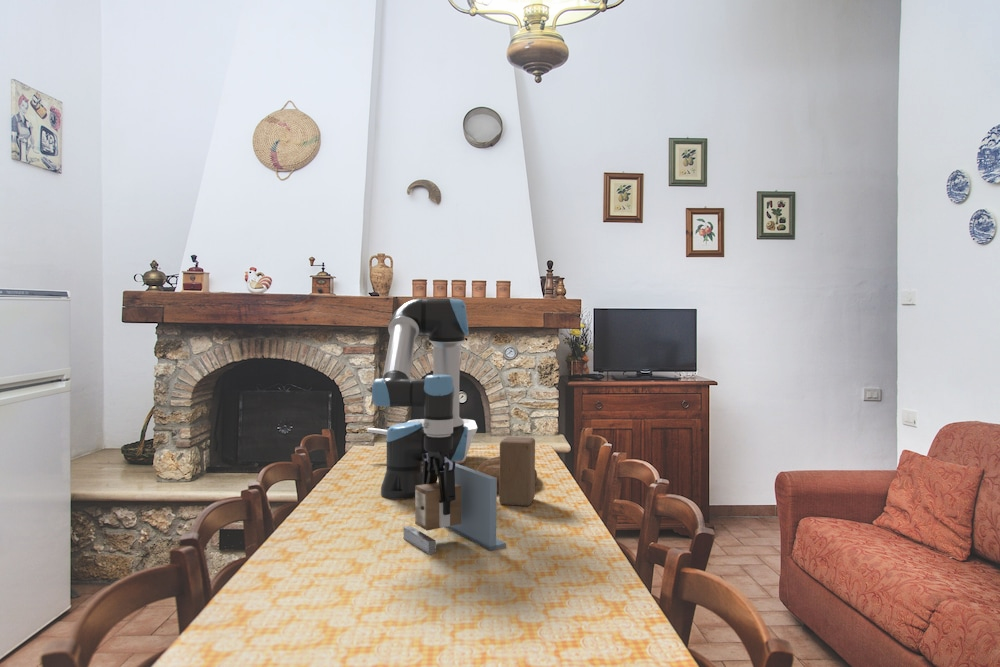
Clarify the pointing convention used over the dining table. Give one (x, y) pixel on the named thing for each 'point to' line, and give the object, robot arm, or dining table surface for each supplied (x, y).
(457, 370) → the robot arm
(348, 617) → the dining table surface
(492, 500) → the wall board
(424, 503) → the wooden box
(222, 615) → the dining table surface
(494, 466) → the bread
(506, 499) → the wooden block
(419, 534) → the cleat rail
